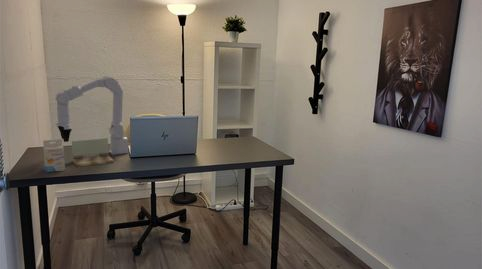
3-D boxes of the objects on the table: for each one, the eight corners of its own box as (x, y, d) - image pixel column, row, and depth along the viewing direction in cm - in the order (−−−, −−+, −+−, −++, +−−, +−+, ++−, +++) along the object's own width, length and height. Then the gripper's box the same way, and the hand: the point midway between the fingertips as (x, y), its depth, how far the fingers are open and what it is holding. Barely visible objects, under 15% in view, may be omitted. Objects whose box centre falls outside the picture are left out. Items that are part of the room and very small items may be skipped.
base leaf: (108, 156, 201) (107, 152, 201) (113, 162, 192) (113, 157, 191) (73, 160, 191) (72, 156, 191) (76, 166, 182) (76, 161, 182)
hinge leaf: (108, 155, 200) (108, 155, 201) (107, 138, 198) (107, 138, 199) (73, 159, 190) (73, 159, 191) (72, 141, 188) (71, 140, 190)
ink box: (45, 172, 171) (43, 142, 168) (44, 169, 175) (42, 140, 172) (65, 170, 176) (63, 141, 173) (63, 167, 180) (62, 138, 177)
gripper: (53, 113, 195) (55, 137, 198) (57, 117, 183) (58, 143, 186) (67, 112, 199) (69, 136, 202) (72, 117, 187) (73, 142, 190)
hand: (65, 140), depth 194 cm, fingers open, 7 cm apart
